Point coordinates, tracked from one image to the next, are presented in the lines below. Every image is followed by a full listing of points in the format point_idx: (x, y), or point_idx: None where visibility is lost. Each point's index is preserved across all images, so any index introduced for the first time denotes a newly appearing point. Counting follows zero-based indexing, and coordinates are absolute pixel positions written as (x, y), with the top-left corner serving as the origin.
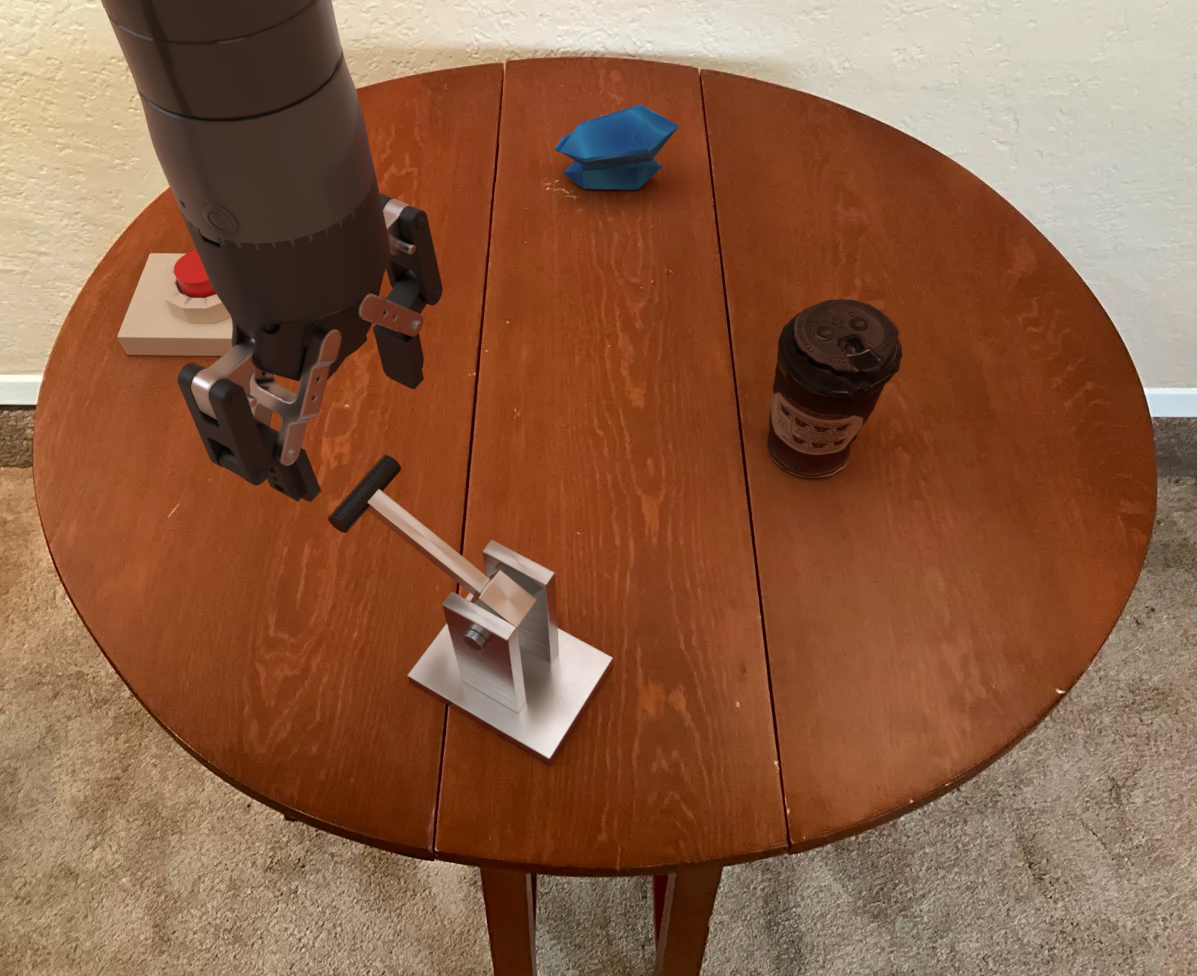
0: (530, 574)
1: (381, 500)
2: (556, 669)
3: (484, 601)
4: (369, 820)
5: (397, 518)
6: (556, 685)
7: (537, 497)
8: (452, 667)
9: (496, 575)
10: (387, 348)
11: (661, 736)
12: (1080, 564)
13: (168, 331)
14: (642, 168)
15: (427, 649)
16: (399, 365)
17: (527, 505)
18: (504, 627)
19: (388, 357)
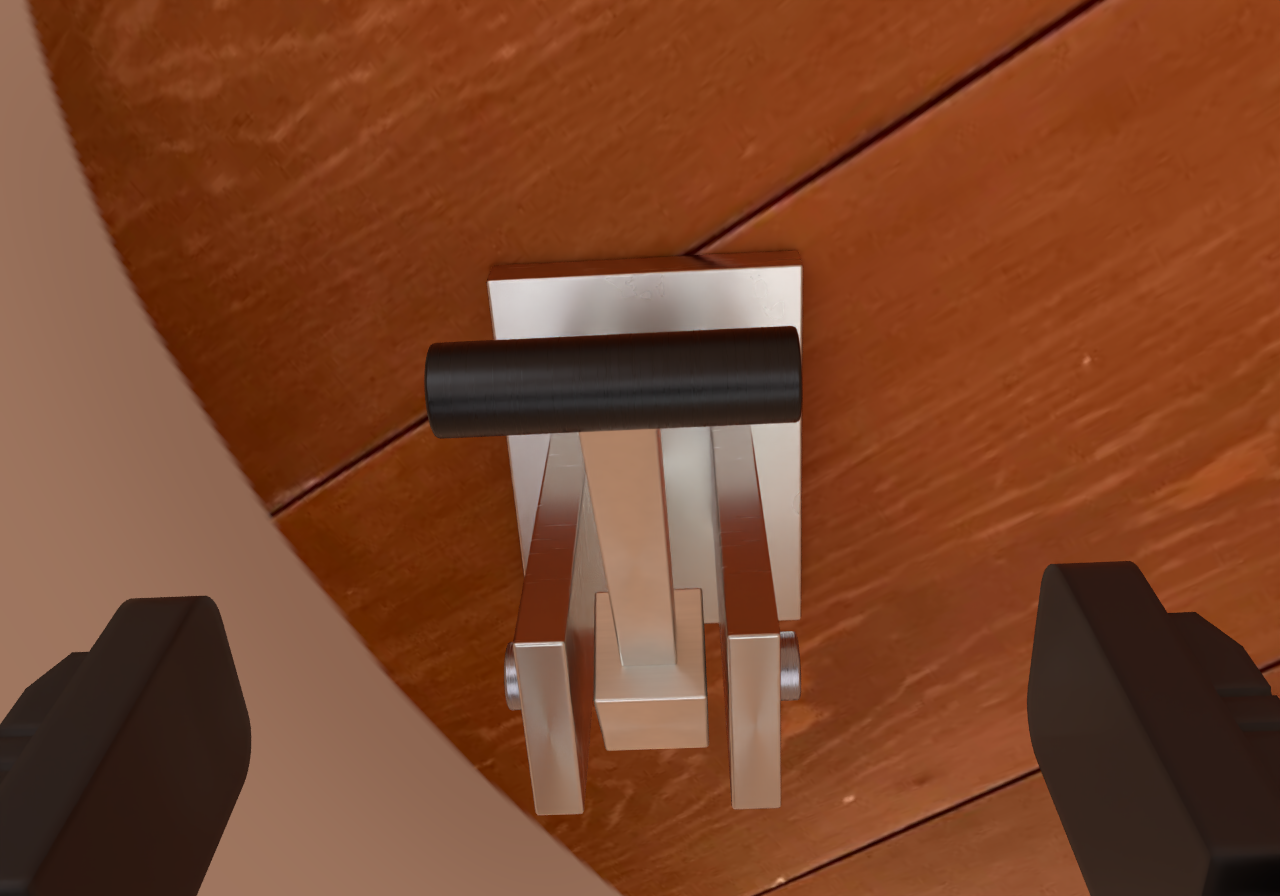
0: (737, 769)
1: (624, 453)
2: (707, 545)
3: (598, 710)
4: (204, 391)
5: (616, 500)
6: (674, 563)
7: (1152, 204)
8: None
9: (684, 700)
10: (1131, 808)
11: (712, 728)
12: None
13: None
14: None
15: (571, 280)
16: (1084, 767)
17: (1113, 196)
18: (561, 795)
19: (1104, 725)
